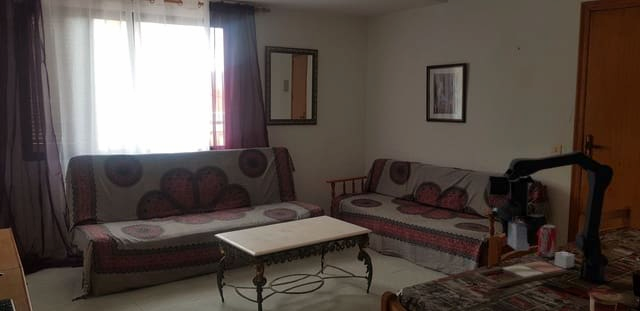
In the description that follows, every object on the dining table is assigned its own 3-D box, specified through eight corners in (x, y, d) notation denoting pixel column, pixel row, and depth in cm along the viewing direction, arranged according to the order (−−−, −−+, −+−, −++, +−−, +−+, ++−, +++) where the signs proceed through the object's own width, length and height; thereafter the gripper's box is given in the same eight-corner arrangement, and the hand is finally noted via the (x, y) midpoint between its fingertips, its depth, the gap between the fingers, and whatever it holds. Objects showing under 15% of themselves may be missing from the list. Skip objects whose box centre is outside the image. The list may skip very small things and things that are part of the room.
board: (567, 273, 170) (567, 269, 170) (497, 287, 156) (497, 284, 156) (538, 263, 181) (539, 259, 181) (471, 275, 167) (471, 272, 167)
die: (573, 266, 177) (574, 254, 177) (565, 268, 175) (566, 256, 175) (562, 263, 181) (563, 251, 181) (554, 264, 179) (555, 252, 179)
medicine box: (529, 251, 163) (529, 225, 162) (515, 251, 163) (516, 225, 162) (519, 244, 170) (520, 220, 170) (506, 244, 171) (507, 220, 170)
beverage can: (557, 258, 186) (558, 228, 185) (539, 257, 188) (541, 227, 186) (552, 254, 192) (554, 224, 191) (535, 252, 194) (537, 223, 192)
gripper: (481, 193, 170) (480, 237, 171) (524, 202, 153) (523, 251, 155) (504, 190, 174) (503, 233, 176) (549, 199, 158) (547, 246, 159)
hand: (518, 240), depth 166 cm, fingers closed on medicine box, 9 cm apart
